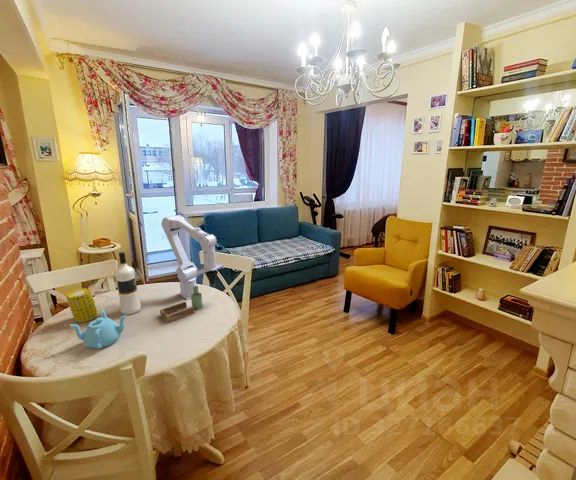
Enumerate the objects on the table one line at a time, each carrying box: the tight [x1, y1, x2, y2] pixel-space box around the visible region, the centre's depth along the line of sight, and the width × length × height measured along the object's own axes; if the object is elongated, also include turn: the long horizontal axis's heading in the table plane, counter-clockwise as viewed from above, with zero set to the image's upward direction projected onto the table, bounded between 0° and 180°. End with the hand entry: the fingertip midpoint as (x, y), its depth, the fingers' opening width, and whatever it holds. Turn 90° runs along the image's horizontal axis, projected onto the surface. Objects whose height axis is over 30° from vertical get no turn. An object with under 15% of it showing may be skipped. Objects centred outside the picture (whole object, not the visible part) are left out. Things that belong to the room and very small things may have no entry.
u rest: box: [159, 301, 195, 324], centre depth 142 cm, size 9×13×3 cm
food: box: [65, 287, 98, 323], centre depth 139 cm, size 15×12×10 cm
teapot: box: [69, 308, 128, 350], centre depth 121 cm, size 15×15×10 cm
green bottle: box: [190, 285, 204, 311], centre depth 148 cm, size 5×5×11 cm
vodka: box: [114, 251, 142, 316], centre depth 144 cm, size 9×9×30 cm
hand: (212, 284), depth 153 cm, fingers closed
